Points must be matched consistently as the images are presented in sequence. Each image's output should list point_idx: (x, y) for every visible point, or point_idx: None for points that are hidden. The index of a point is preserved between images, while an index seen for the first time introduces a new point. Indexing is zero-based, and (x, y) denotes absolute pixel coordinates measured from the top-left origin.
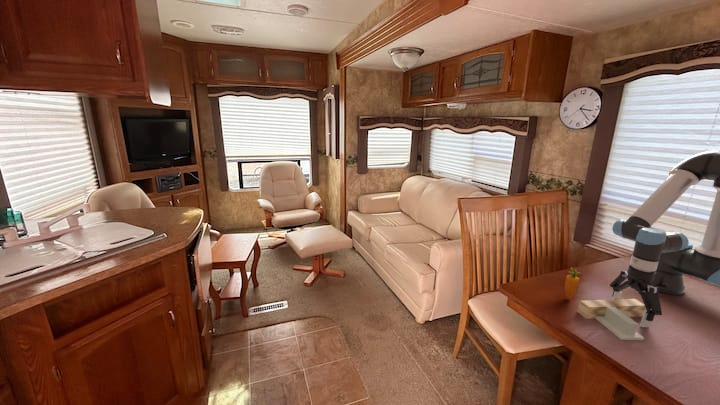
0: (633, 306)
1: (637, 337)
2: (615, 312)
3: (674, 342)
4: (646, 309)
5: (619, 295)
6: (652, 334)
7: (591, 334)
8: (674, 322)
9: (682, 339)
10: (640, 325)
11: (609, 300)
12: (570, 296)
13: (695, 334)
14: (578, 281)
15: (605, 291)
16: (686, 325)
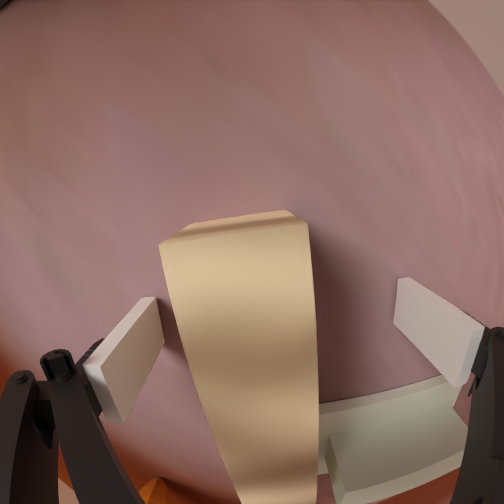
0: (315, 363)
1: (457, 397)
2: (389, 495)
3: (493, 237)
4: (474, 395)
5: (124, 365)
6: (448, 301)
7: None
8: (335, 40)
9: (480, 169)
10: (397, 325)
11: (239, 472)
12: (171, 501)
13: (432, 50)
14: None
15: (4, 245)
16: (355, 7)
